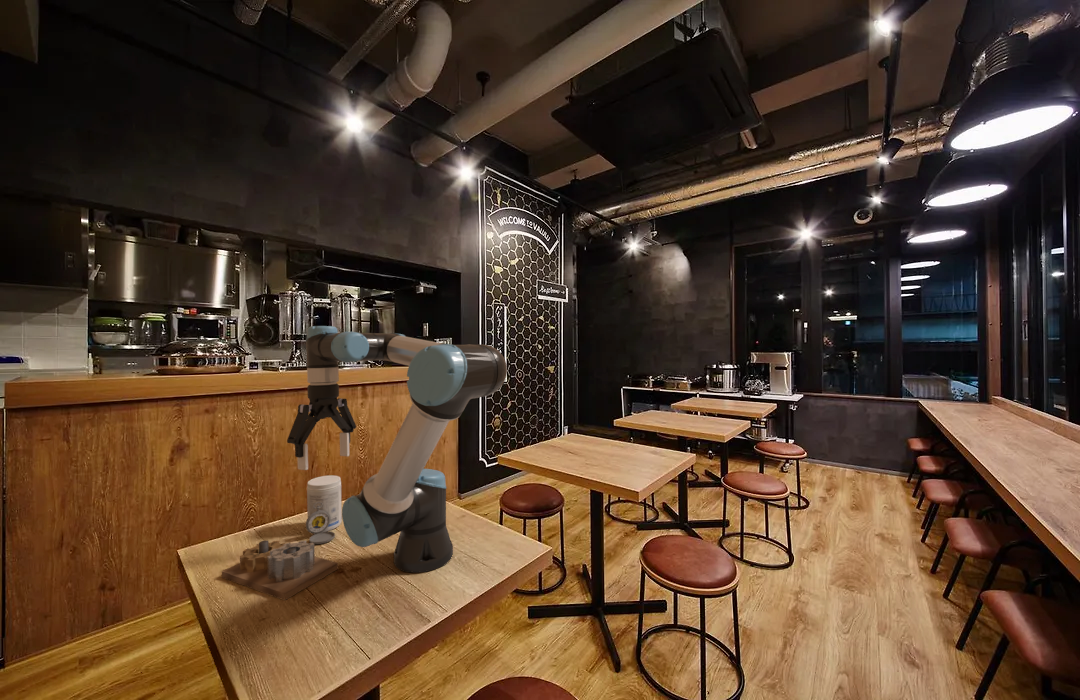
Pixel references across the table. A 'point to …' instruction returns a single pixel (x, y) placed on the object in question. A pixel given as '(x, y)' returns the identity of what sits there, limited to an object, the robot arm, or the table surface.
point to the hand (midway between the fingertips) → (325, 462)
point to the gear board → (256, 577)
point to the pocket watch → (319, 534)
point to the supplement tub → (325, 498)
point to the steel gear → (291, 561)
